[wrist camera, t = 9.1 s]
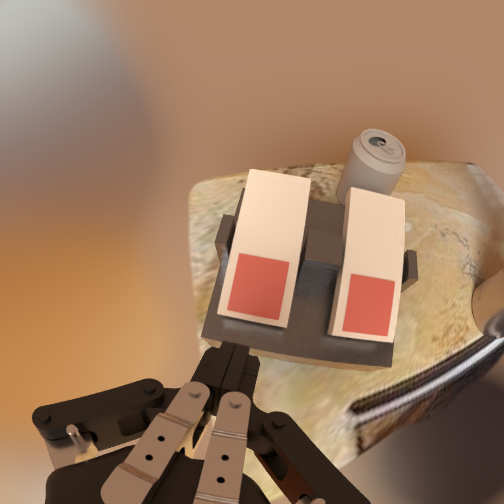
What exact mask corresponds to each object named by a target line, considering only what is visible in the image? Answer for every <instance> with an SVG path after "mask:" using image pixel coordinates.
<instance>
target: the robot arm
mask: <svg viewBox="0 0 504 504" xmlns="http://www.w3.org/2000/svg"><path fill="white" fill-rule="evenodd" d="M472 311H473V316H474V319H475V322H476V324H477V326H478V328H479V329H480V331H481V332H482V333H483V334H484V335H486V336H489V337H493V336H495V337H497V338H498V339H499V338H502V337H504V268H503V269H501V270H500V271H498V272H497V273H496V274H494V275H493V276H491V277H490V278H488V279H487V280H485V281H484V282H482V283H481V284H479V285H478V286H477V287H476V289H475V291H474V293H473V298H472ZM249 351H250V346H248V345H244V344H239V343H237V345H236V343H234V342H230V341H225V340H223V341H222V344H221V346H220V348H216V347H211V348H209V349H208V350H206V351H205V353H204V355H203V357H202V359H201V361H200V364H199V365H198V367H197V369H196V371H195V373H194V375H193V377H192V379H191V381H190V382H188V383H186V384H184V385H183V386H182V387H181V388H176V389H174V388H164V387H163V385H162V384H161V383H160V382H159V381H157V380H155V379H143V380H140V381H136V382H133V383H130V384H127V385H123V386H120V387H117V388H114V389H110V390H107V391H103V392H99V393H95V394H92V395H88V396H84V397H80V398H76V399H72V400H68V401H64V402H59V403H55V404H50V405H45V406H41V407H39V408H37V409H36V410H35V411H34V412H33V415H32V420H33V423H34V425H35V426H36V428H37V429H38V430H39V432H40V434H41V436H42V437H43V438H44V440H45V443H46V446H47V449H48V452H49V455H50V458H51V461H52V464H53V466H54V469H55V471H53V472H52V473H51V474H50V475H49V477H48V479H47V482H46V499H45V504H271V503H270V502H269V501H268V499H267V498H266V496H265V495H264V493H263V492H262V490H261V489H260V487H259V486H258V485H257V484H256V482H255V481H254V480H252V479H251V478H250V477H249V476H247V475H245V474H244V473H243V466H244V459H245V451H246V447H247V448H249V449H251V450H253V451H254V454H255V456H256V457H257V458H258V460H259V461H260V463H261V464H262V465H263V467H264V468H265V470H266V471H267V472H268V474H269V475H270V476H271V478H272V479H273V480H274V482H275V483H276V484H277V486H278V487H279V488H280V490H281V491H282V492H283V493H284V495H285V496H286V497H287V498H288V500H289V501H290V502H291V503H292V504H371V503H370V501H369V500H368V499H367V498H366V497H365V496H364V495H363V494H362V493H360V492H359V490H358V489H356V487H355V486H353V484H351V482H350V481H348V480H347V478H345V476H343V474H342V473H341V472H340V471H339V470H338V469H337V468H336V467H335V466H334V465H333V464H332V463H331V462H330V461H329V460H328V459H327V457H326V456H325V455H324V454H323V453H322V452H321V451H320V450H319V449H318V448H317V447H316V445H315V444H314V443H313V442H312V441H311V440H310V439H309V438H308V436H307V435H306V434H305V433H304V432H303V431H302V430H301V428H300V427H299V426H298V425H297V424H296V423H295V421H294V420H293V419H292V418H291V417H290V416H289V415H288V414H286V413H283V412H278V411H275V412H270V413H266V412H263V411H261V410H260V409H258V408H257V407H256V406H255V405H254V403H253V393H254V389H255V384H256V380H257V375H258V371H259V367H260V362H259V359H258V357H256V356H251V355H249ZM211 415H213V416H217V417H216V421H215V425H214V429H213V431H212V433H211V437H210V441H209V445H208V449H207V453H206V457H205V460H198V459H193V456H194V453H195V451H196V449H197V447H198V445H199V442H200V441H201V439H202V437H203V435H204V433H205V431H206V429H207V426H208V422H209V420H210V417H211ZM140 437H141V438H140ZM138 438H140V440H139V441H138V443H137V444H136V445H131V446H127V447H124V448H121V449H119V450H116V451H113V452H110V453H107V454H104V455H102V456H98V457H96V456H97V453H98V451H101V450H104V449H107V448H111V447H114V446H117V445H120V444H123V443H126V442H129V441H132V440H135V439H138Z"/></svg>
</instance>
